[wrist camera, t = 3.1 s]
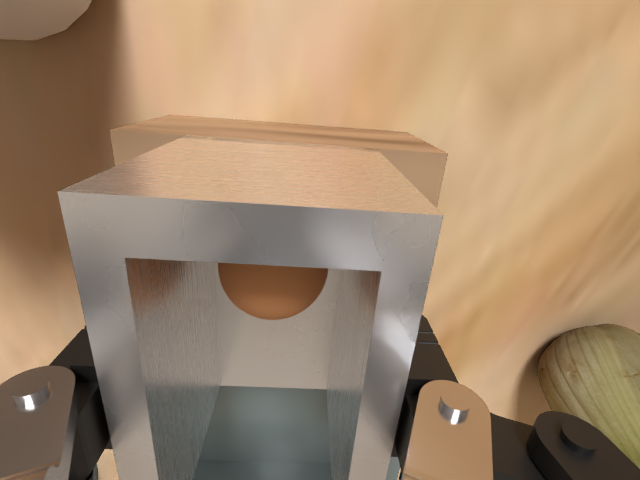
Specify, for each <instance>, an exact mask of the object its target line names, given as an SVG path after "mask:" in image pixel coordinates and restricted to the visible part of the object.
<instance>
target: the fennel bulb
mask: <svg viewBox="0 0 640 480" xmlns="http://www.w3.org/2000/svg"><path fill="white" fill-rule="evenodd" d="M537 373H538V375H539V380H540V384H541V387H542V390H543V392H544V394H545V397H546V399H547V402H548V404H549V405H550V408H551V410H552V411H559V412H564V413H568V414H571V415H574V416H576V417H578V418H581V419H582V420H584V421H586V422H588V423H590V424H591V425H593V426H594V427H596V428H597V429H598V430H600V431H601V432H602V433H603V434H604V435H605V436H606V437H608V438H609V439H610V440H611V441H612V442H613V443H614V444H615V445H616V446H617V447H618V448H619V449H620V450H621V451H622V452H623V453H624V454H625V455H626V456H627V457H628V458H629V459H630V460H631V461H632V462H633V463H634V464H635V465H636V466H637V467H638V468H639V469H640V334H639V333H636V332H635V331H633V330H631V329H628V328H626V327H622V326H618V325H614V324H602V325H597V326H586V327H582V328H577V329H574V330H571V331H569V332H566V333H564V334H563V335H561V336H560V337H559V338H557V339H555V340H554V341H553V342H552V343H551V344H550V345H549V347H548V348H547V349H546V350H545V351H544V352H543V354H542V355H541V357H540V360H539V362H538V372H537Z"/></svg>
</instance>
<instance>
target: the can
mask: <svg viewBox="0 0 640 480" xmlns="http://www.w3.org/2000/svg"><path fill="white" fill-rule="evenodd" d="M91 1H92V0H0V39H10V40H35V41H36V40H39V39H41V38H44V37H47V36H50V35H53V34H56V33H59V32H62V31H65V30H66V29H67V28H68V27H69V26H70V25H71V24H72V23H73V22H74V21H76V20H77V19H78V18H79V17H80V16H81V15H82V14H83V13H84V12H85V11H86V10H87V9H88V8H89V5H90V3H91Z"/></svg>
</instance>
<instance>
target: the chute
mask: <svg viewBox="0 0 640 480" xmlns="http://www.w3.org/2000/svg"><path fill="white" fill-rule="evenodd" d="M57 193H58V197H59V202H60V207H61V211H62V216H63V221H64V225H65V230H66V234H67V239H68V244H69V248H70V253H71V258H72V262H73V267H74V272H75V276H76V281H77V285H78V290H79V295H80V299H81V304H82V309H83V313H84V318H85V323H86V327H87V332H88V336H89V341H90V346H91V350H92V355H93V360H94V364H95V369H96V373H97V378H98V383H99V387H100V392H101V397H102V401H103V406H104V411H105V415H106V420H107V424H108V429H109V434H110V438H111V443H112V448H113V452H114V457H115V462H116V466H117V471H118V475H119V480H193V477H194V474H195V470H196V467H197V464H198V460H199V457H200V453H201V450H202V446H203V443H204V440H205V436H206V433H207V429H208V426H209V423H210V419H211V416H212V412H213V409H214V405H215V402H216V399H217V395H218V392H219V388H220V386H247V387H276V388H304V389H327V407H328V424H329V442H330V460H331V478H332V480H386V476H387V471H388V467H389V462H390V457H391V453H392V448H393V444H394V439H395V435H396V430H397V425H398V421H399V416H400V412H401V407H402V403H403V398H404V393H405V389H406V384H407V380H408V375H409V371H410V366H411V361H412V357H413V352H414V348H415V343H416V339H417V334H418V330H419V325H420V320H421V316H422V311H423V307H424V302H425V298H426V293H427V288H428V284H429V279H430V275H431V270H432V266H433V261H434V256H435V252H436V247H437V243H438V238H439V234H440V229H441V224H442V220H443V214H442V213H441V212H440V211H439V210H438V209H437V208H436V207H435V206H434V205H433V204H432V203H431V202H430V201H429V200H428V199H427V198H426V197H425V196H424V195H423V194H422V193H421V192H420V191H419V190H418V189H417V188H416V187H415V186H414V185H413V184H412V183H411V182H410V181H409V180H408V179H407V178H406V177H405V176H404V175H403V174H402V173H401V172H400V171H399V170H398V169H396V168H395V167H394V166H393V165H392V164H391V163H390V162H389V161H388V160H387V159H386V158H385V157H384V156H383V155H382V154H381V153H380V152H379V151H378V150H377V149H376V148H363V147H349V146H335V145H321V144H307V143H293V142H279V141H265V140H251V139H237V138H223V137H209V136H194V135H186V136H183V137H181V138H179V139H176V140H174V141H172V142H170V143H167V144H165V145H163V146H160V147H158V148H156V149H153V150H151V151H149V152H147V153H144V154H142V155H140V156H137V157H135V158H133V159H130V160H128V161H126V162H124V163H121V164H119V165H117V166H114V167H112V168H110V169H107V170H105V171H103V172H101V173H98V174H96V175H94V176H91V177H89V178H87V179H84V180H82V181H80V182H78V183H75V184H73V185H71V186H68V187H66V188H64V189H61V190H59V191H57ZM218 263H235V264H254V265H273V266H292V267H311V268H328V275H327V279H326V282H325V285H324V287H323V289H322V291H321V293H320V294H319V296H318V297H317V299H316V300H315V301H314V302H313V303H312V304H311V305H310V306H309V307H308V308H307V309H305V310H304V311H302V312H301V313H299V314H297V315H295V316H292V317H289V318H285V319H279V320H266V319H260V318H257V317H254V316H251V315H249V314H247V313H245V312H244V311H242V310H241V309H239V308H238V307H237V306H236V305H234V304H233V303H232V301H231V300H230V299H229V298H228V296H227V295H226V293H225V291H224V290H223V287H222V285H221V282H220V278H219V273H218Z"/></svg>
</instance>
